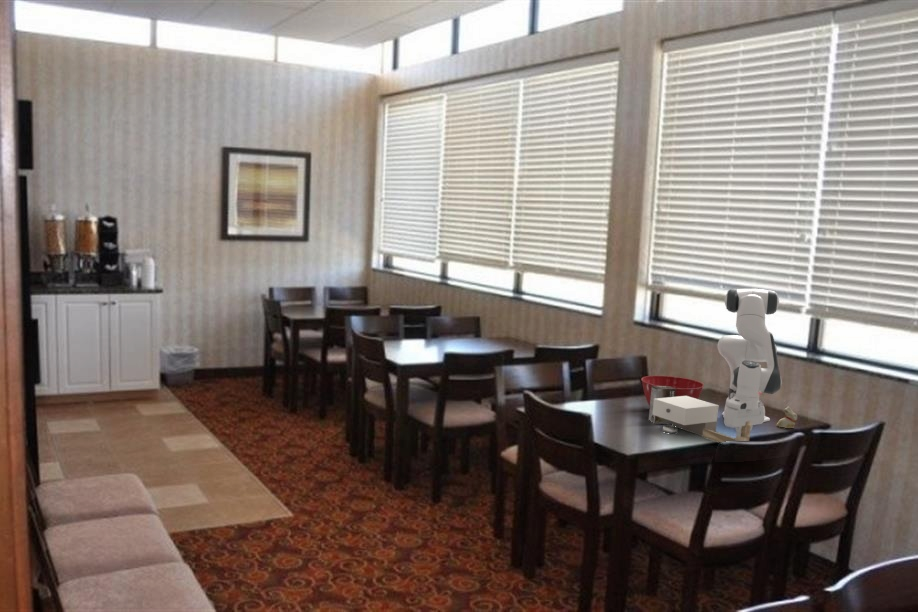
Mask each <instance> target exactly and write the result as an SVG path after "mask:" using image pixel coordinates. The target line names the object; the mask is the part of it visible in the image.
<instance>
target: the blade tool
mask: <svg viewBox="0 0 918 612" xmlns="http://www.w3.org/2000/svg"><path fill="white" fill-rule="evenodd" d="M750 429H751V421H749V422H746V425H745V426H742V429H741V432H742V433H743V434H742V437H737V436H736V435H735V437H731V436H728V435H726V434H723V433H720V432H717V431H716V432H714V431H711V430H708V429H703V435H702V436H701V437H702V438H705V439H708V440H710V441H713V442H717V443H719V442H726V441H749V442H750V436H751V431H750ZM751 430H752V429H751Z"/></svg>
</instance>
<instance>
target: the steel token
mask: <svg viewBox="0 0 918 612" xmlns="http://www.w3.org/2000/svg"><path fill="white" fill-rule="evenodd" d="M663 432H665V433H664V434H666V433H669V434H668V435H677V434H678V427H675V426H672V425H671V424H663V426H662V433H663Z"/></svg>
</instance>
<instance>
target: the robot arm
mask: <svg viewBox="0 0 918 612" xmlns="http://www.w3.org/2000/svg"><path fill="white" fill-rule="evenodd" d="M724 305H725V307H726V308H725V309H726V310H727V311H728V312H731V313H734V314H735V313H736V322H735V327H736V331H737V333H738V334H739V335H737V334H736V335H735V334H730V335H729V334H728V335H722V336H721V337H720V339H718V342H717V351H718V353H719V355H720V356H722V357H723V358H724V360H725V361H726V362H727V364H728V367H729V369H730V380H729V381H730V383H729V388H728V390H727V393H728V394H727V396H728V397H727V398H726V400H725V405H724V411H723V412H722V413H721V415H722V417H723V423H724V425H725V427H728V428H731V429H732V428H734V429H735V432H736V435H735V437H736V436H737V437H742V434H743V433H742V432H741V429H742V426H745V425H746V422H749V421H751V429H750V432H751V431H752V429H753V427H754V425H762V424H763V423H765V422H769V421H771V419H770V417H768V416H766V408H765V406H764V403H763V401H761V400H760V397H761V393H764V394H768V395H773V394H776V393H777V392H779V391H780V390H781V387H782V383H783V381H782V377H781V373H780V369H779V361H778V354H777V352H778V348H777V345H776V344H775V343H776V342H775V337H774V334H773V333H772V332H770V331H769V329H768V328H767V326H766V315H774V313H776V312H777V310H778V308H779V305H780V299H779V296H778V293H777V292H776V291H774V290H770V289H768V290H767V289H762V288H761V289H760V288H759V289H758V288H731V289H729V290H728V291H727V292H726V294H725V296H724ZM760 363H766V368H763V367H761V364H760Z"/></svg>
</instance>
